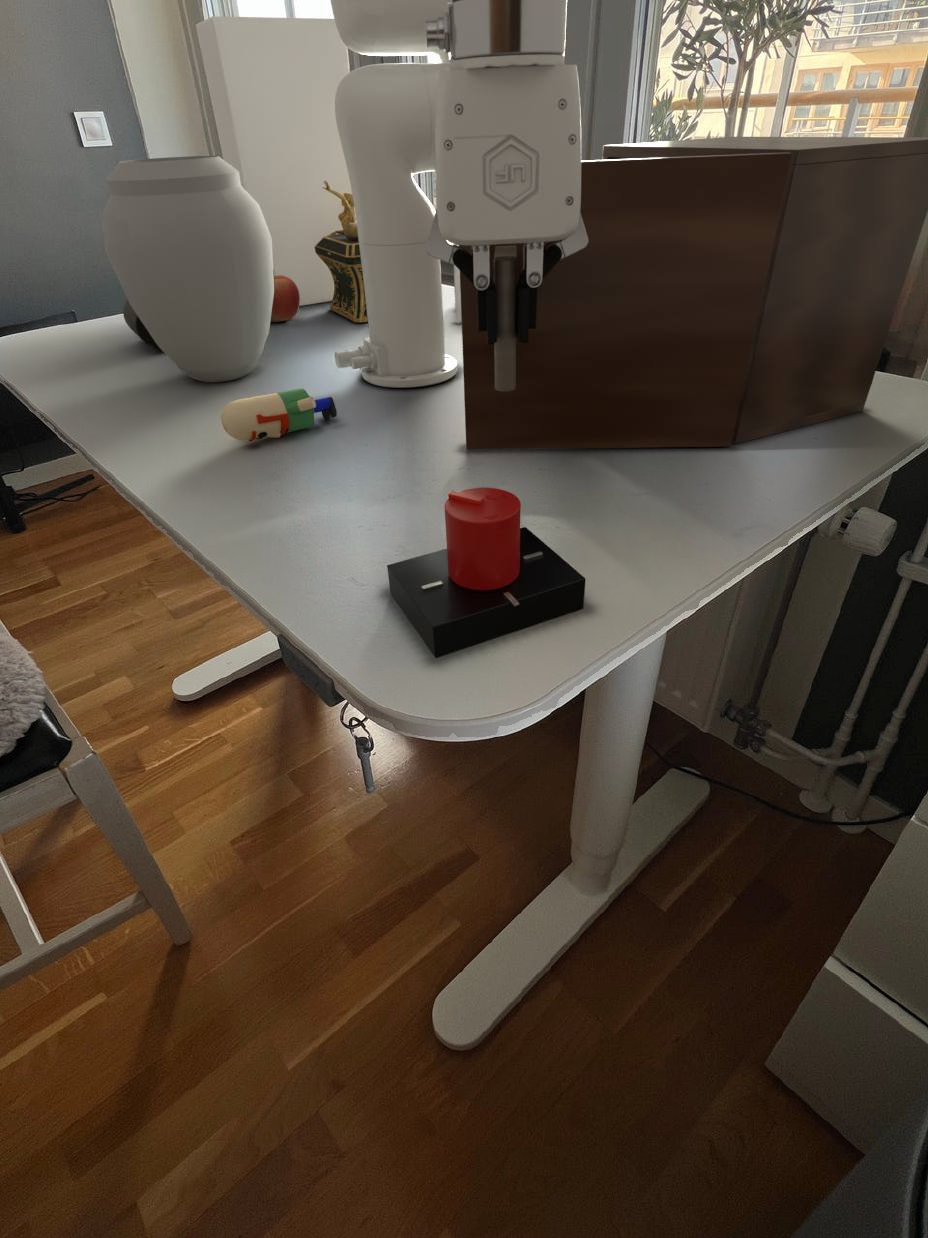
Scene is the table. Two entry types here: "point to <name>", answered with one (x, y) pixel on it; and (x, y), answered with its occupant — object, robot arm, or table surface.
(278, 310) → the apple
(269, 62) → the storage box
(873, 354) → the cabinet
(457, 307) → the handheld gaming console
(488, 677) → the table surface
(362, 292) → the decorative box
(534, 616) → the valve panel
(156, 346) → the end cap
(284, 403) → the toy figurine
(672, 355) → the cabinet door
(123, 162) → the vase
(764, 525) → the table surface
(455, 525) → the red rotary knob
